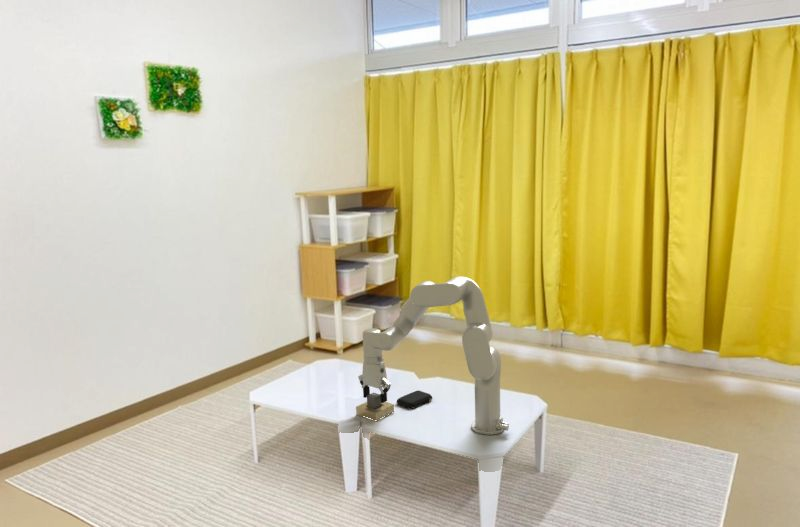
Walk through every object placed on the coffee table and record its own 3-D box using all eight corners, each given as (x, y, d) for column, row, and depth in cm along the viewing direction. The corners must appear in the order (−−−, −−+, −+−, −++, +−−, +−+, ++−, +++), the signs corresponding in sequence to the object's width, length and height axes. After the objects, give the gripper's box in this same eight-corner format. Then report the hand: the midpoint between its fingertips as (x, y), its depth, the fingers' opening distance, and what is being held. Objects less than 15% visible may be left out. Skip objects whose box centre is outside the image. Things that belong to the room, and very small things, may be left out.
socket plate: (394, 412, 229) (393, 404, 229) (375, 421, 221) (375, 413, 220) (374, 406, 236) (374, 398, 236) (356, 414, 228) (356, 406, 227)
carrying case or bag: (412, 411, 230) (436, 401, 240) (412, 404, 229) (435, 394, 240) (394, 405, 237) (418, 395, 248) (394, 398, 237) (417, 388, 247)
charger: (381, 413, 228) (380, 394, 227) (374, 416, 225) (373, 397, 224) (374, 410, 231) (373, 391, 230) (367, 414, 228) (366, 394, 227)
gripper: (395, 360, 222) (397, 401, 225) (364, 353, 234) (366, 392, 236) (382, 365, 217) (384, 407, 219) (351, 357, 228) (353, 397, 230)
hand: (375, 399), depth 228 cm, fingers open, 9 cm apart
